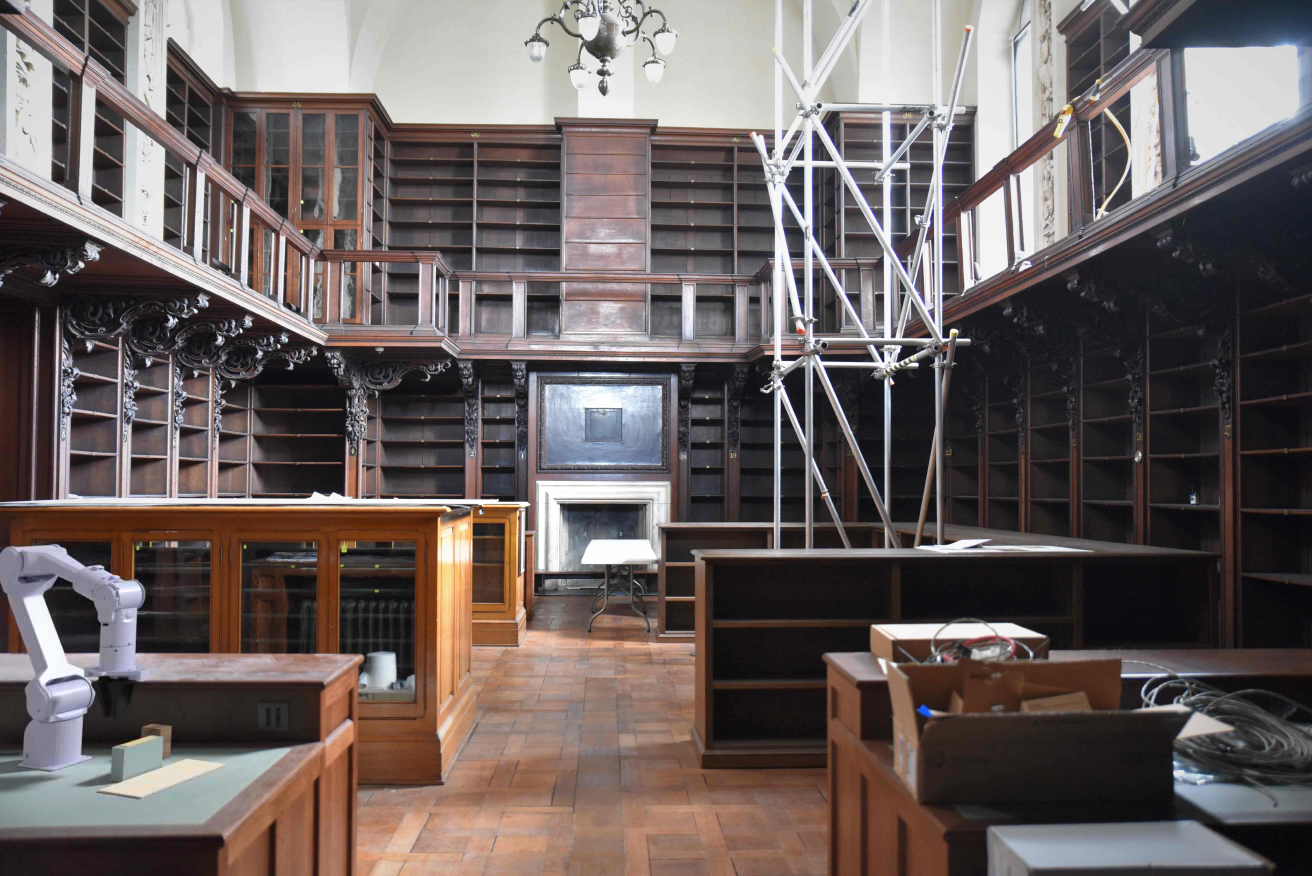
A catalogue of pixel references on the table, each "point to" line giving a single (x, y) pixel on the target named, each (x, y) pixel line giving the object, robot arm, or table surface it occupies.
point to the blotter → (162, 778)
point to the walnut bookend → (159, 731)
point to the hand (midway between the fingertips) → (114, 717)
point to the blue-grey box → (136, 758)
